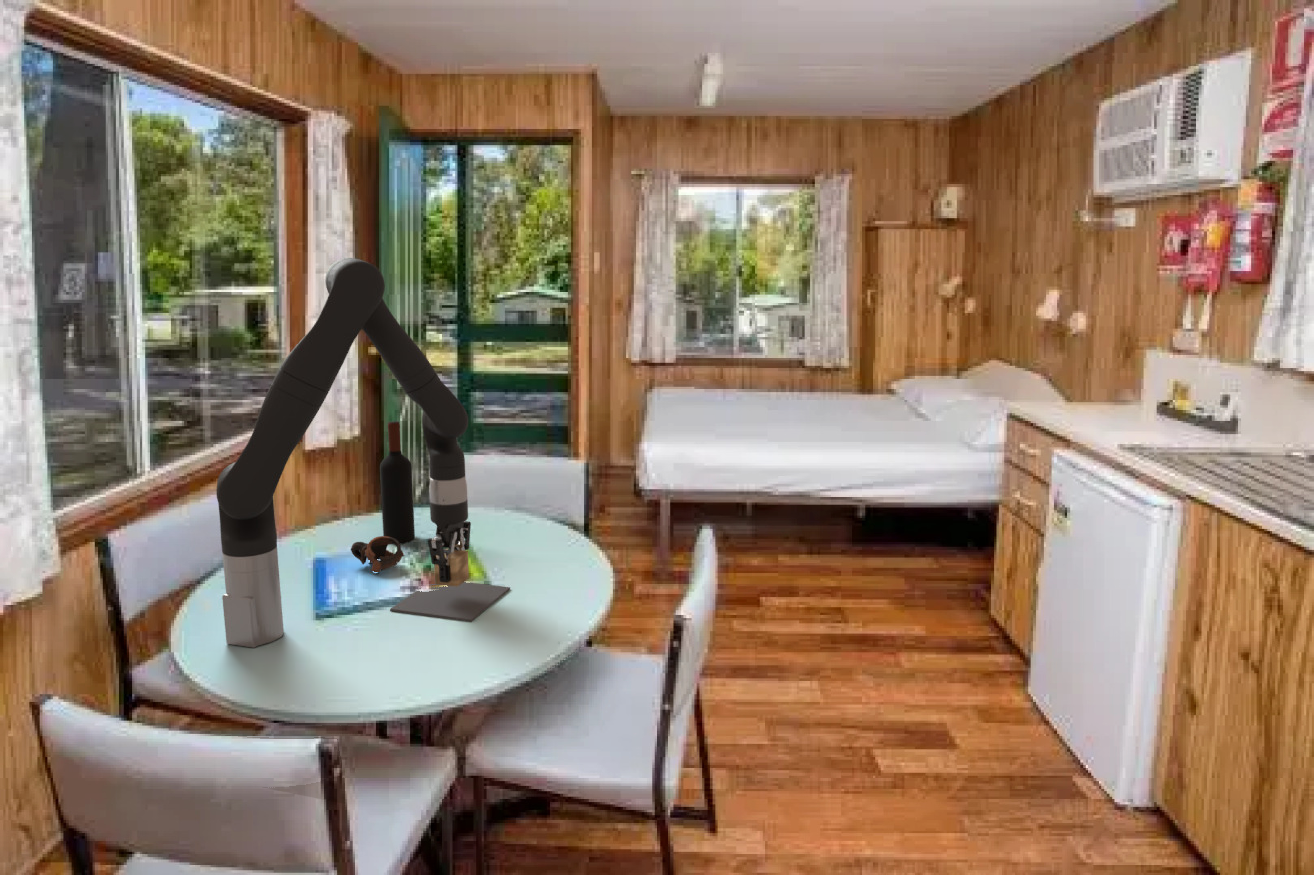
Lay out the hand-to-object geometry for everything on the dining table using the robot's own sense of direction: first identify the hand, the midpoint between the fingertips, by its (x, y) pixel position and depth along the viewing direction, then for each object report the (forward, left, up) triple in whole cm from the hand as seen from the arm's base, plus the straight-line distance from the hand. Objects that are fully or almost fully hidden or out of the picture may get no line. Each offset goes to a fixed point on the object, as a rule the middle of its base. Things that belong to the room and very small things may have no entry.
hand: (452, 576), depth 186 cm
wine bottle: (+32, +32, -5) cm, 46 cm away
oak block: (0, 0, -1) cm, 1 cm away
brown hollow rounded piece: (+13, +26, -5) cm, 29 cm away
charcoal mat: (0, 0, -5) cm, 5 cm away
